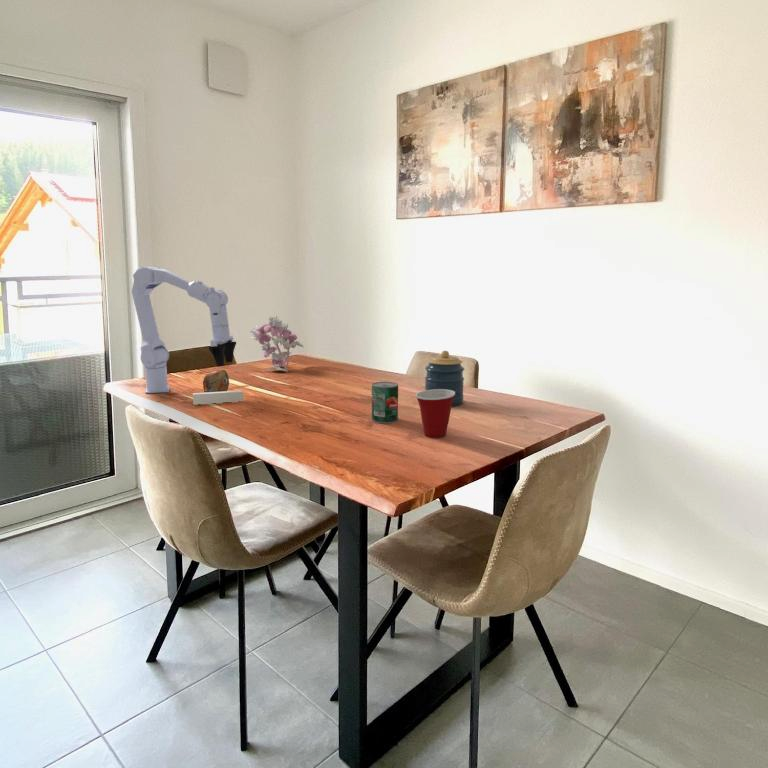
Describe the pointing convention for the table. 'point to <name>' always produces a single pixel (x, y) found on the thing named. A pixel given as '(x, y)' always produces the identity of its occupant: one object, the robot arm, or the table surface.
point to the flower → (275, 341)
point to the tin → (216, 381)
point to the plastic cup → (435, 411)
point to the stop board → (217, 397)
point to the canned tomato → (384, 402)
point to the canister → (446, 375)
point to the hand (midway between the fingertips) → (225, 364)
